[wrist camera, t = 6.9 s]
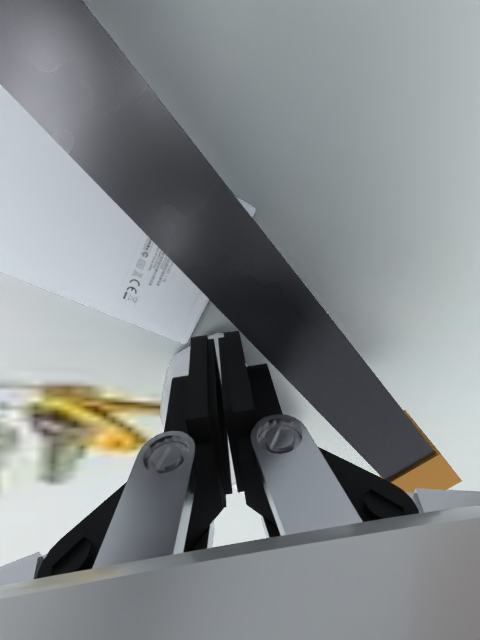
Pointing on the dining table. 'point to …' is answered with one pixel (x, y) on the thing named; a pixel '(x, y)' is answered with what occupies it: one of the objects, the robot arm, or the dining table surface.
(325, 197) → the dining table surface
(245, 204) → the external hard drive
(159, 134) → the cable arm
